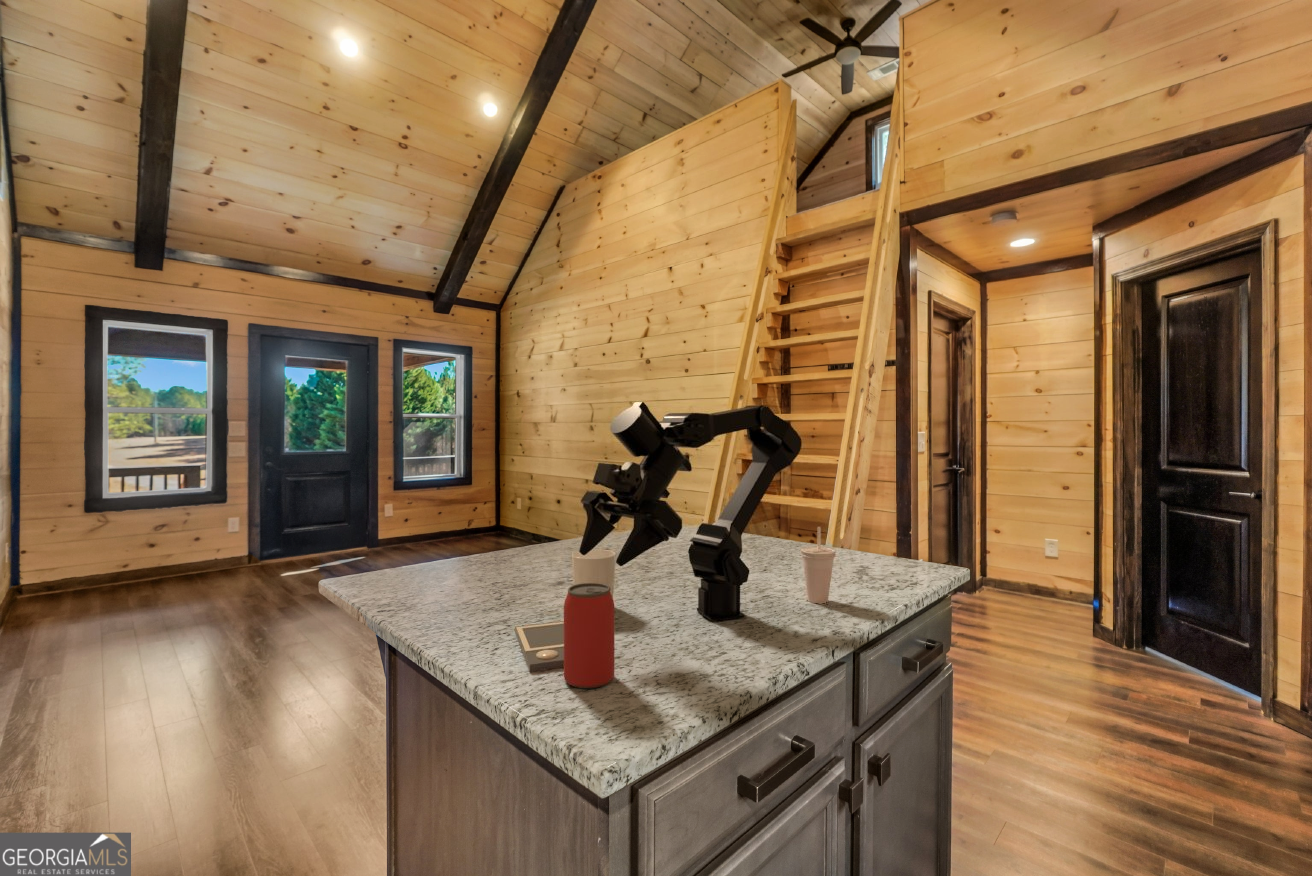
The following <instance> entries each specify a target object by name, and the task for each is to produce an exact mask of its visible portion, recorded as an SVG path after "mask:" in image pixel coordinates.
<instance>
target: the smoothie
mask: <svg viewBox="0 0 1312 876" xmlns="http://www.w3.org/2000/svg"><path fill="white" fill-rule="evenodd" d="M821 533H822V531H821V526H817V546H807V547H802V548H801V550H800V556H801V557H802V563H803V571H804V579H805V587H806V596H807V601H808V602H809V601H810V602H809V603H811V602H812V603H811V604H815V603H818V604H817V605H823V604H822V603H825V604H827V603H828V602H829V595H830V588H831V581H832V574H833V566H834V558H836V557H837V556H836V551H835V550H834V549H833V548H828V547H822V545H821V544H822V543H821V541H822V540H821V538H822V535H821ZM826 602H827V603H826Z"/></svg>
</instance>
